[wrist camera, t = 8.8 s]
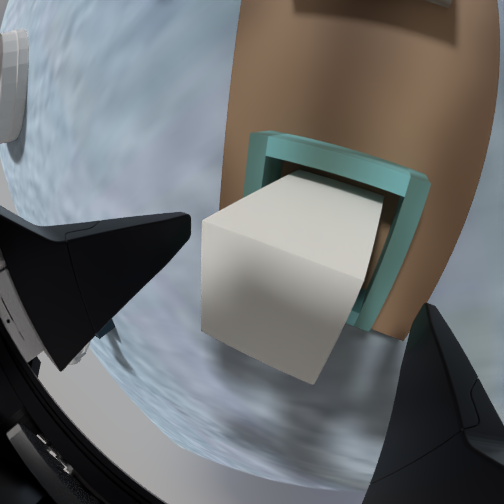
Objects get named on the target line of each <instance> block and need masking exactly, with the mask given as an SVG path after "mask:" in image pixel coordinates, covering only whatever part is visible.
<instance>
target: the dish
mask: <svg viewBox="0 0 504 504" xmlns="http://www.w3.org/2000/svg"><path fill="white" fill-rule="evenodd" d="M28 67H29V41H28V35H27V31H26V30H25V29H17V30H13V31H11V32H5V33H0V144H2V143H8V142H11V141H14V140H16V139H17V138H18V136H19V134H20V130H21V127H22V122H23V117H24V111H25V103H26V94H27V83H28Z"/></svg>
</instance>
